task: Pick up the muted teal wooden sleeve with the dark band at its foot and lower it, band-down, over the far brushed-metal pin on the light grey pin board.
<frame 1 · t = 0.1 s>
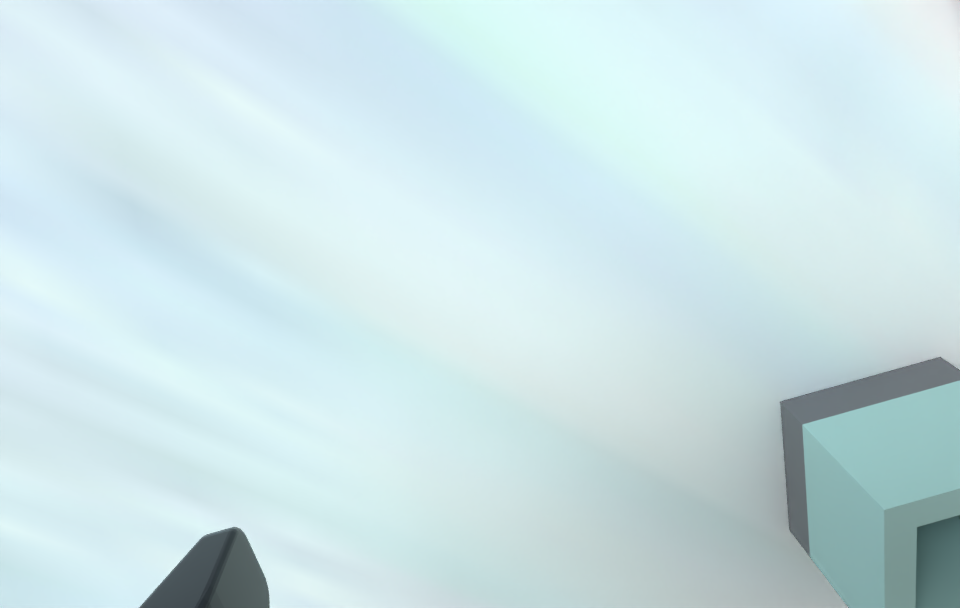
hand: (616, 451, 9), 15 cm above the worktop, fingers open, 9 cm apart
sleeve: (861, 447, 29), on the worktop
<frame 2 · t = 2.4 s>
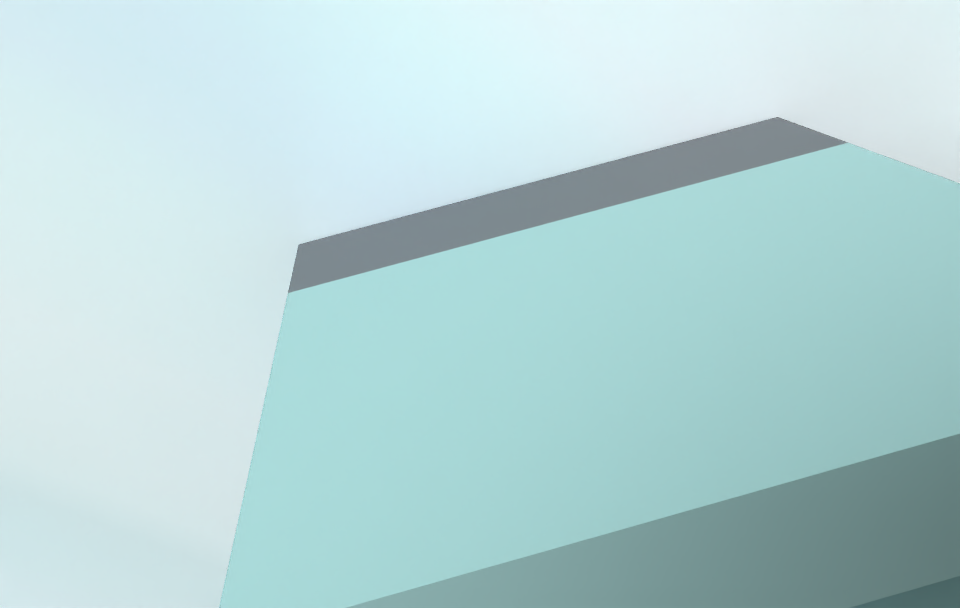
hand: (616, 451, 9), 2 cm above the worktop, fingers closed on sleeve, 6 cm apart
sleeve: (582, 387, 11), on the worktop, touching gripper
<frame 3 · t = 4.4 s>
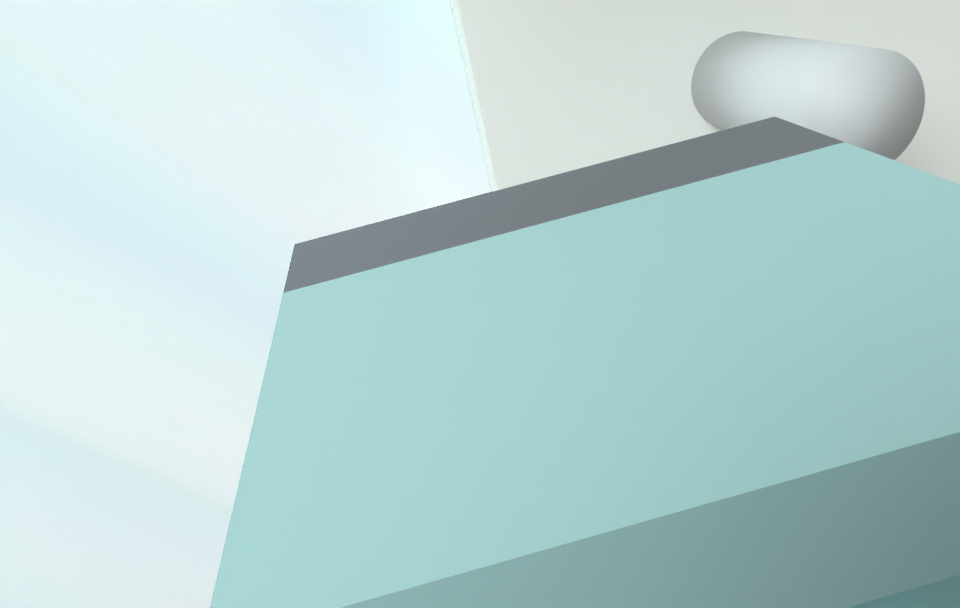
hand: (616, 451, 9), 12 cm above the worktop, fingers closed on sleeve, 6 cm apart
sleeve: (579, 387, 11), point 10 cm above the worktop, touching gripper
pin board: (722, 222, 21), on the worktop
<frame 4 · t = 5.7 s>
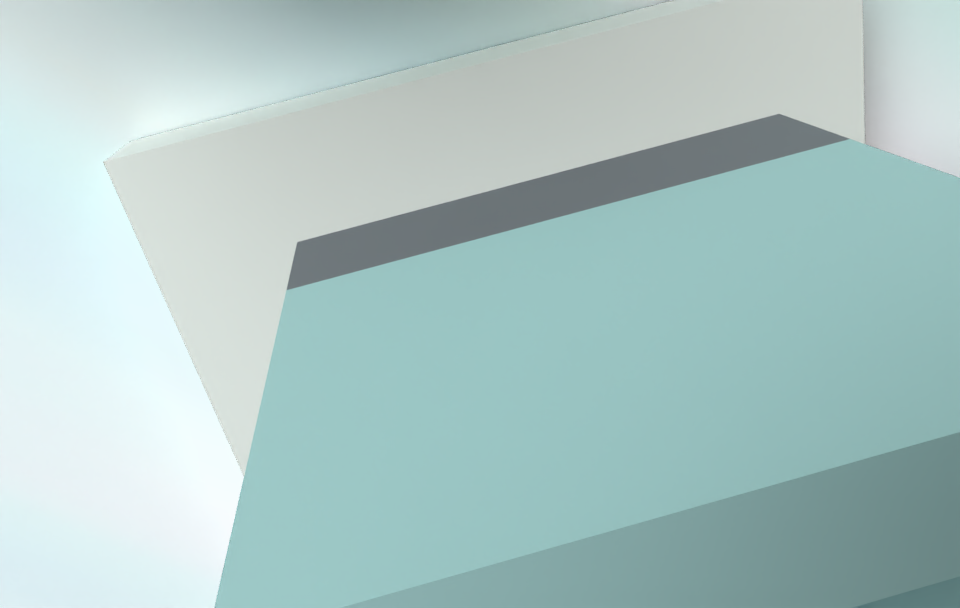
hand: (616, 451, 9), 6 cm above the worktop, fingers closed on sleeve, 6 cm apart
sleeve: (582, 386, 11), point 5 cm above the worktop, touching gripper
pin board: (560, 432, 17), on the worktop
when the fingers open (4 cm above the worktop, at t = 6.5 s): sleeve drops 1 cm, resting on pin board.
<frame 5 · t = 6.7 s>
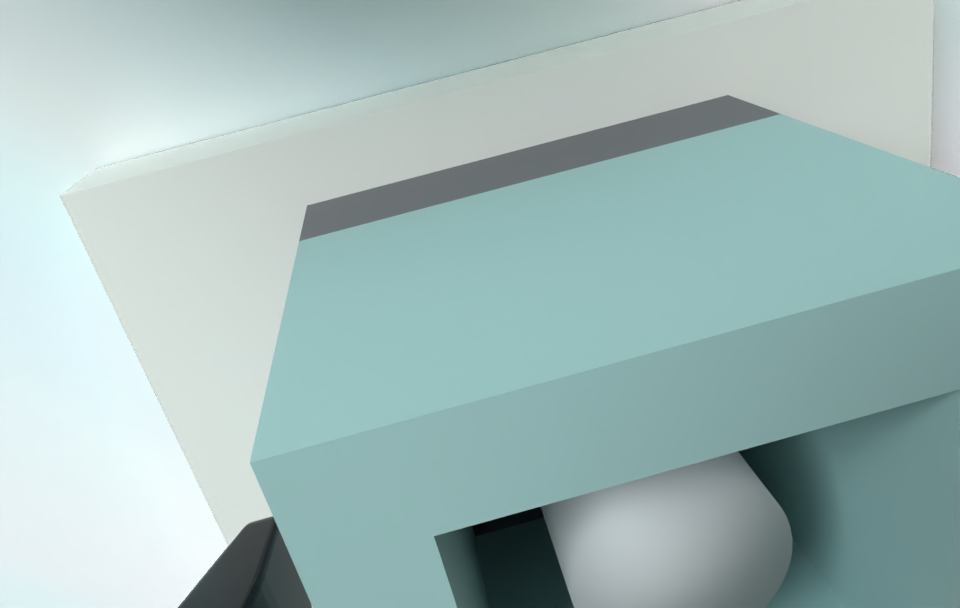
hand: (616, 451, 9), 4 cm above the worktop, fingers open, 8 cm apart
sleeve: (558, 337, 12), point 1 cm above the worktop, touching pin board
pin board: (579, 483, 15), on the worktop
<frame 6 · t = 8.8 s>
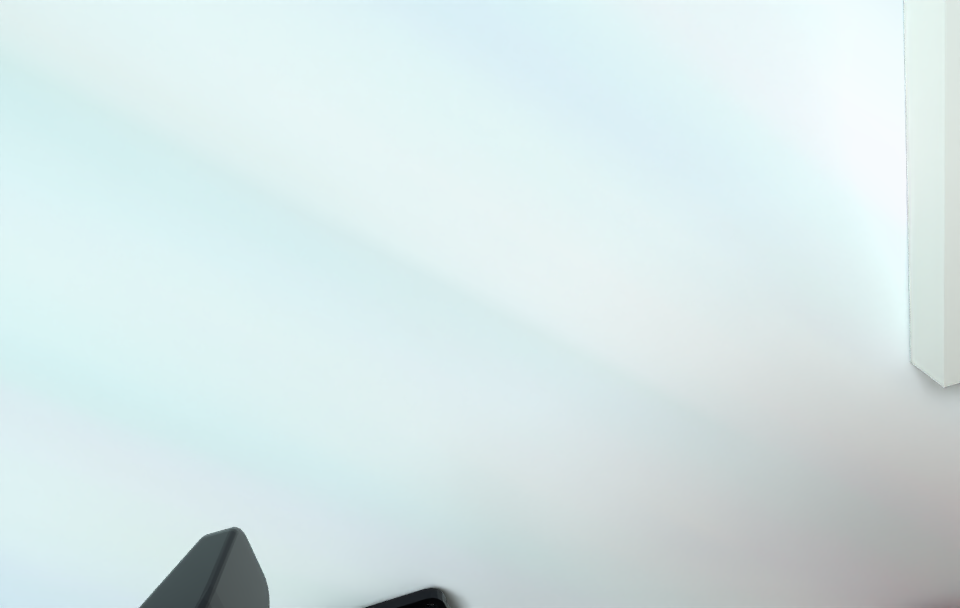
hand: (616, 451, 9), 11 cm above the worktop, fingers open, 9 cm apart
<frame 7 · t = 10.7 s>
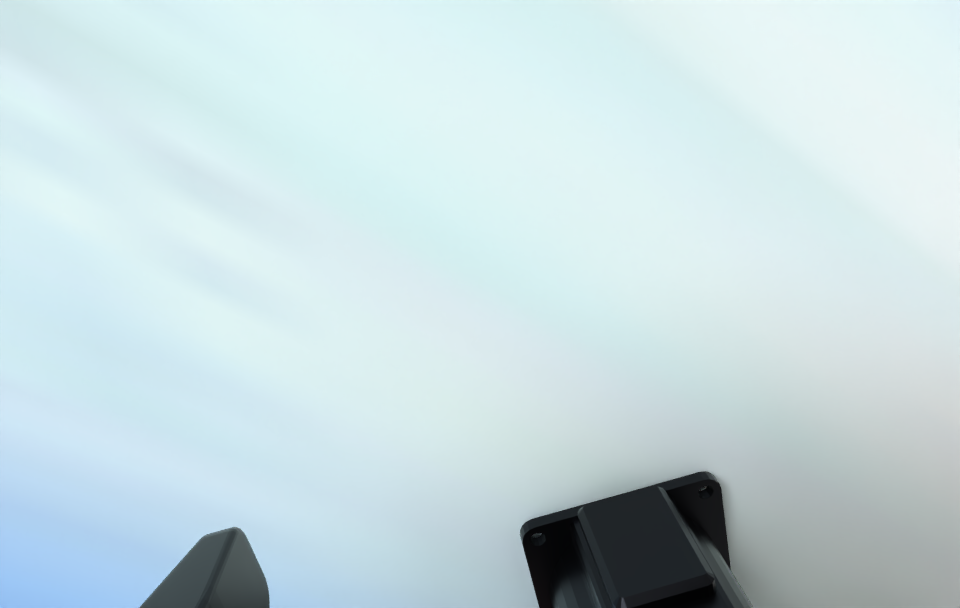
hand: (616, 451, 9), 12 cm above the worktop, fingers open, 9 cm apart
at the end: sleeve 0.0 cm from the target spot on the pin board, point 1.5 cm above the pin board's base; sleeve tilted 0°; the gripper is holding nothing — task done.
